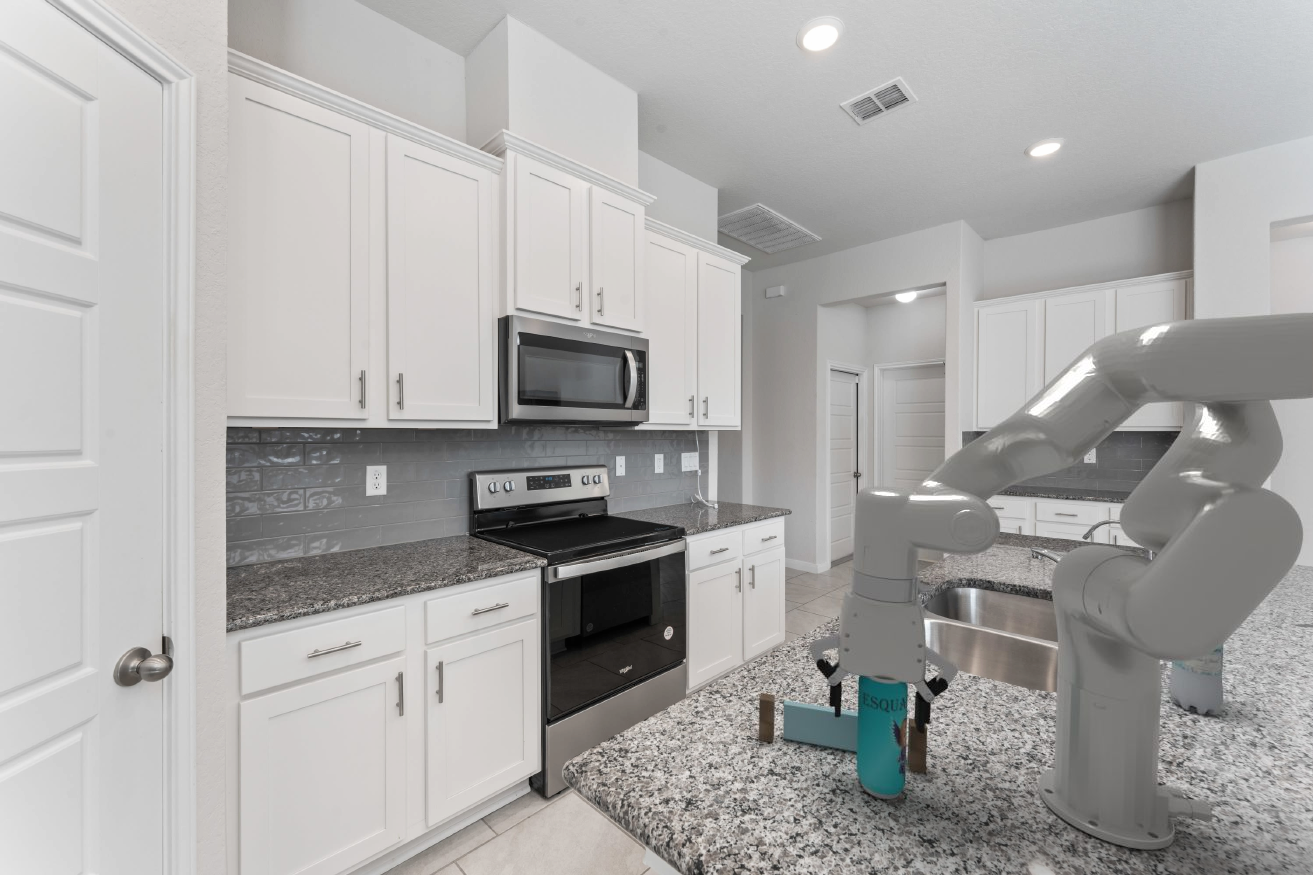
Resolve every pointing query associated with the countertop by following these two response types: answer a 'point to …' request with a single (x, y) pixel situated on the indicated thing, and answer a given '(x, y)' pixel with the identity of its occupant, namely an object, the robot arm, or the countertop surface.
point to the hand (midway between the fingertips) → (877, 719)
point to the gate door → (820, 725)
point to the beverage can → (882, 736)
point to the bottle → (1199, 683)
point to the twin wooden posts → (915, 739)
